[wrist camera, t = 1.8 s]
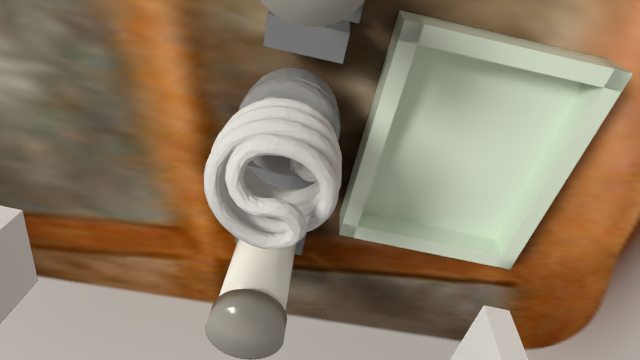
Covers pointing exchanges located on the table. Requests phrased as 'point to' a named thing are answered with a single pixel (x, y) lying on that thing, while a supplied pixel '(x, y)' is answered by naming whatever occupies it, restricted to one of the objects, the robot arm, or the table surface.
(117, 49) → the table surface
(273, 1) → the grey capped cylinder
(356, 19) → the clip block
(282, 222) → the light bulb
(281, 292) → the fuse
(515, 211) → the tray
